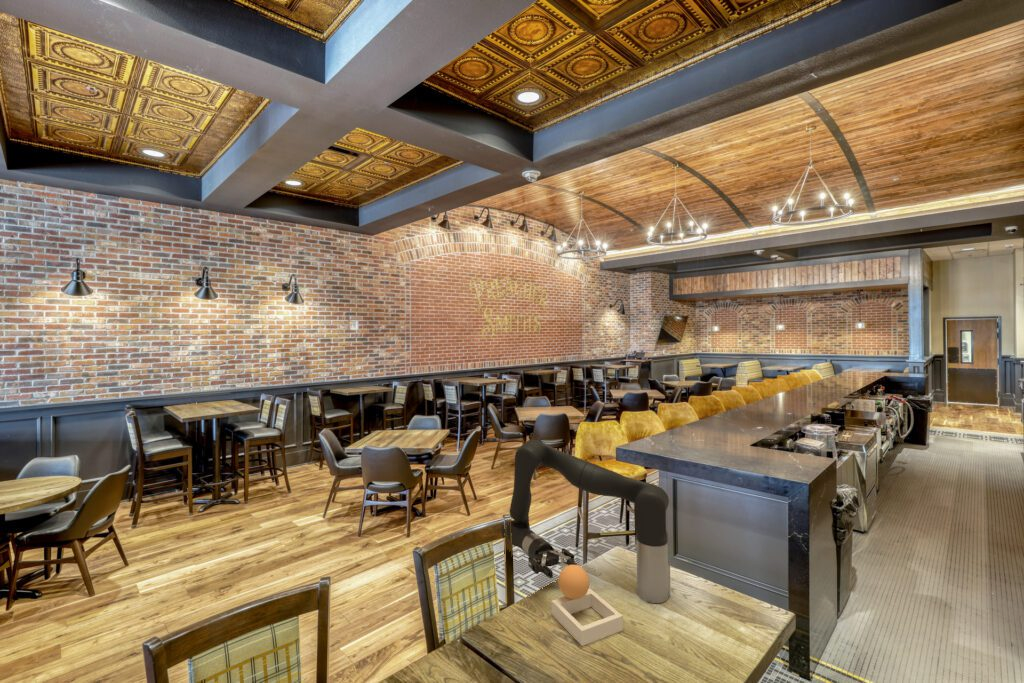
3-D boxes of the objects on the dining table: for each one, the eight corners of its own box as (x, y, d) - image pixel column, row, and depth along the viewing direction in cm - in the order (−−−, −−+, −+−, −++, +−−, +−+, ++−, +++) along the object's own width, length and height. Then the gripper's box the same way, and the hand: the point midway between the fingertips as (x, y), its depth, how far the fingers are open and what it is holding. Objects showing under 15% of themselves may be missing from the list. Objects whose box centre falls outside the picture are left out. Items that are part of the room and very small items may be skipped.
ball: (577, 585, 138) (577, 556, 138) (595, 600, 130) (595, 569, 130) (552, 593, 134) (552, 563, 134) (569, 609, 126) (569, 577, 126)
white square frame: (589, 601, 136) (589, 588, 136) (622, 630, 123) (622, 615, 123) (551, 614, 130) (551, 600, 130) (582, 646, 117) (581, 631, 117)
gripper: (518, 542, 148) (543, 564, 133) (555, 533, 154) (583, 553, 140) (518, 565, 148) (543, 589, 134) (555, 555, 154) (583, 577, 140)
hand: (563, 571), depth 137 cm, fingers open, 8 cm apart
